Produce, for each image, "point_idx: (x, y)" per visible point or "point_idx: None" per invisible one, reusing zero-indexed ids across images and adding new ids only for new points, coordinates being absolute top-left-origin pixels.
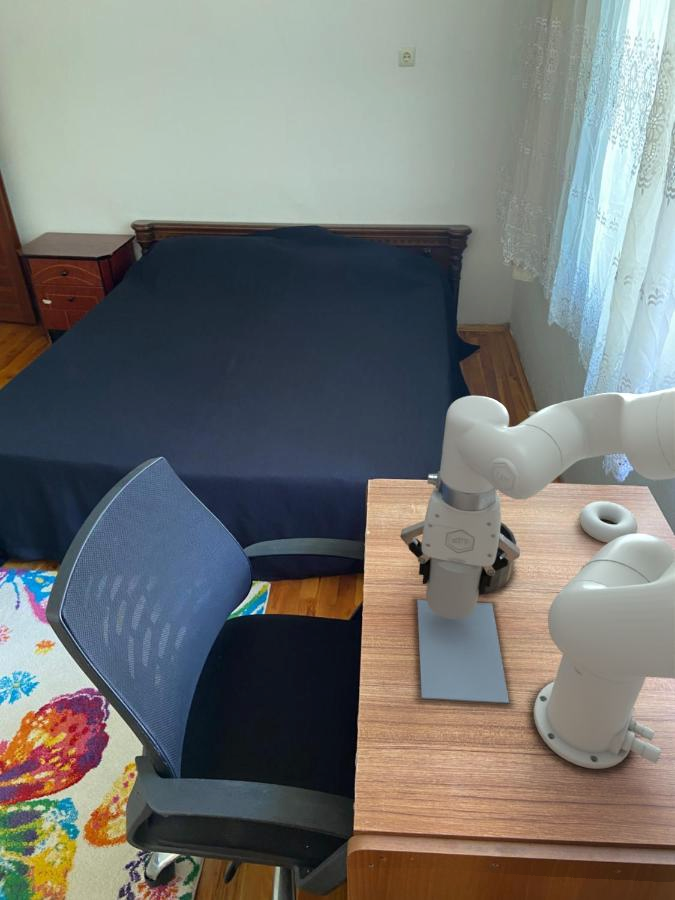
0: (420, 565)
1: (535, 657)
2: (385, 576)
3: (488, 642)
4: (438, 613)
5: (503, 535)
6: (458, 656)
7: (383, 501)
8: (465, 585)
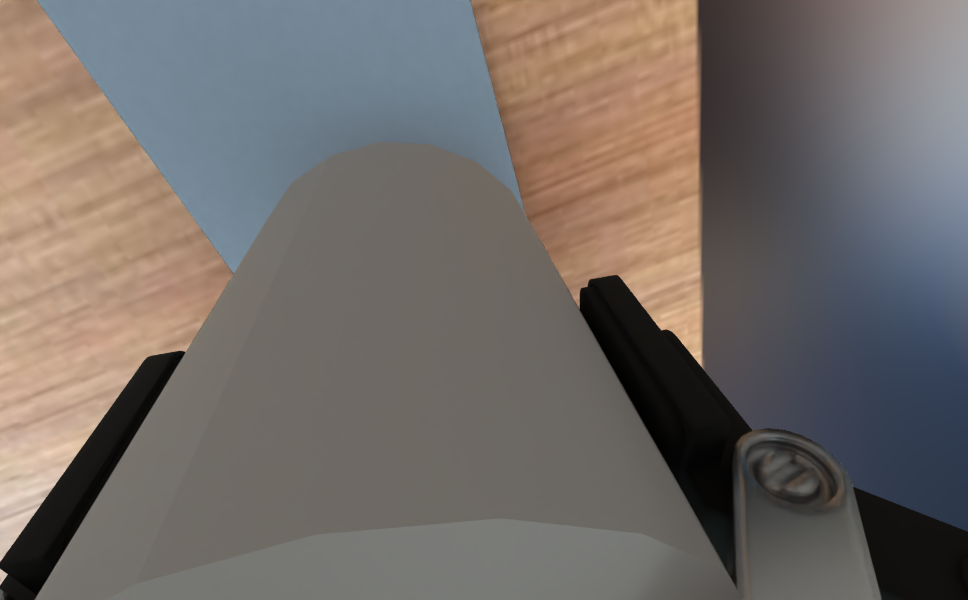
0: (721, 402)
1: (15, 197)
2: (656, 321)
3: (222, 191)
4: (441, 152)
5: None
6: (306, 65)
7: None
8: (201, 364)
